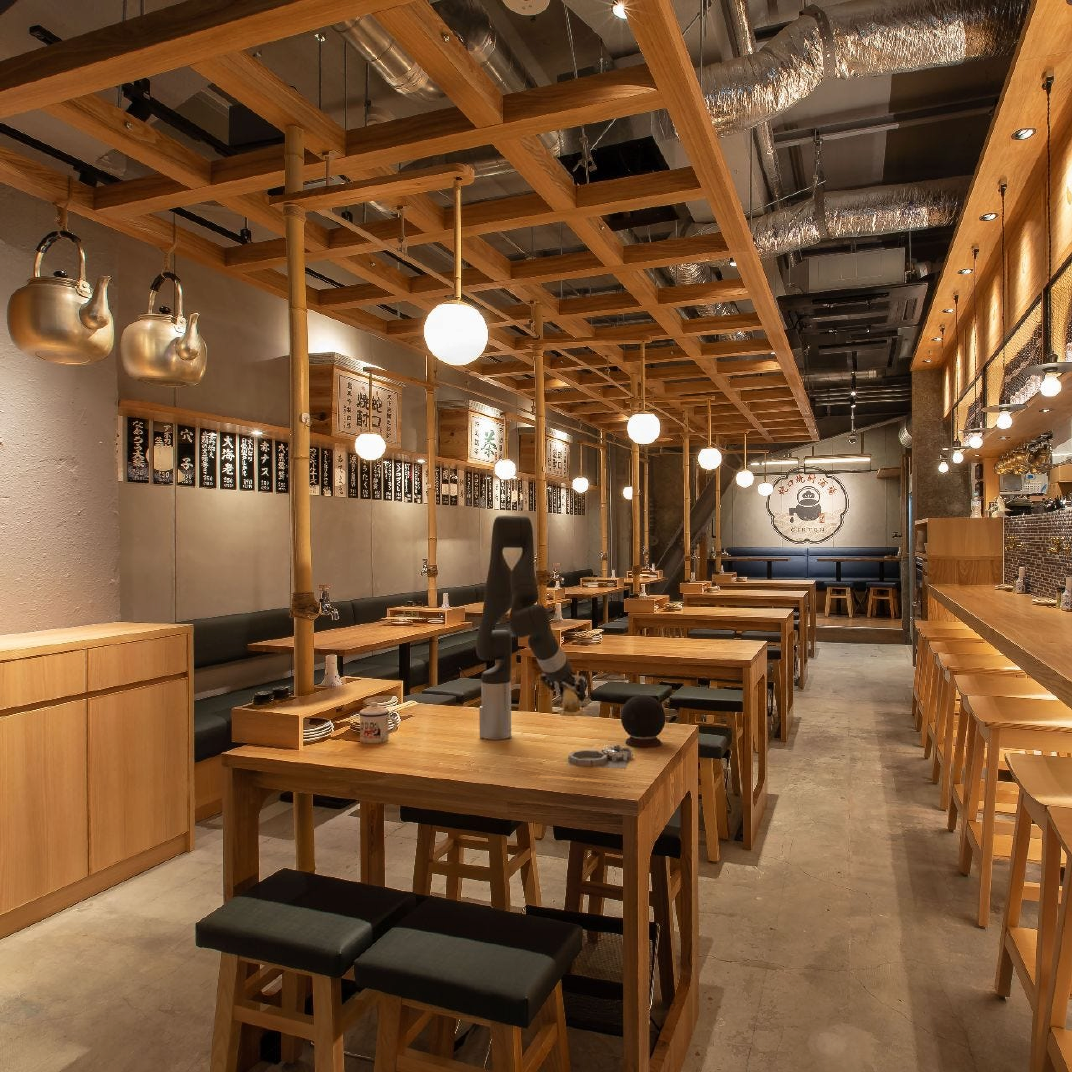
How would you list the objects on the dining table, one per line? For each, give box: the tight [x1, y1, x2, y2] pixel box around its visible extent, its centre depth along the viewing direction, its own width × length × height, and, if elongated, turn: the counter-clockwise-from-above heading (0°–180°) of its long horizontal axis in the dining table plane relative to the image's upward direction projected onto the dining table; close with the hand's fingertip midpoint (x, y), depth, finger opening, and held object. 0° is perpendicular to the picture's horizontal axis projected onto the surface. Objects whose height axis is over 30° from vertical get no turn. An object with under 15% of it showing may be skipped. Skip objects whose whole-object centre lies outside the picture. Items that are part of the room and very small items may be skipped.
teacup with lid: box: [358, 701, 398, 744], centre depth 237 cm, size 12×9×12 cm
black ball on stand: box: [620, 694, 667, 749], centre depth 227 cm, size 13×13×15 cm
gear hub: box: [557, 686, 586, 717], centre depth 215 cm, size 8×7×10 cm
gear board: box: [565, 749, 634, 770], centre depth 210 cm, size 16×14×2 cm
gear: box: [601, 744, 633, 761], centre depth 212 cm, size 8×8×3 cm
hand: (574, 697), depth 217 cm, fingers closed on gear hub, 4 cm apart
